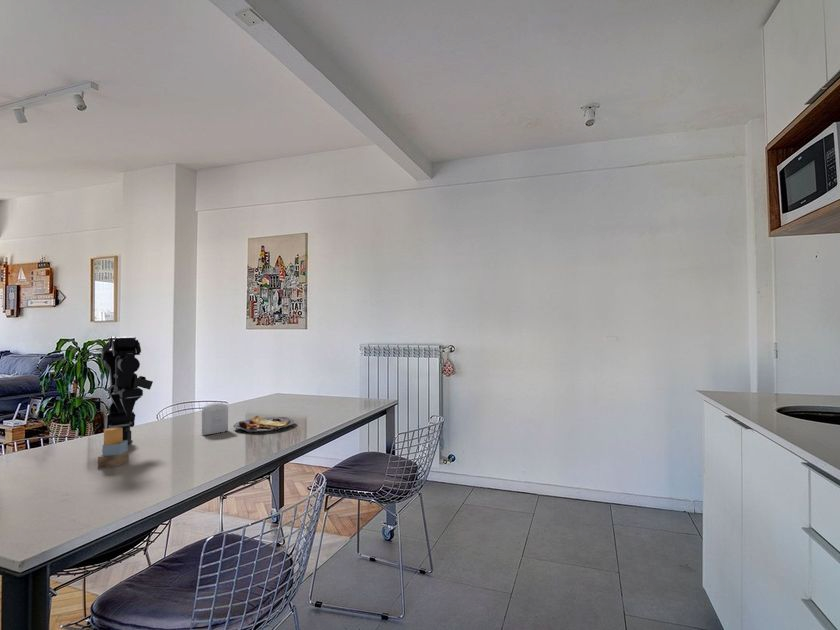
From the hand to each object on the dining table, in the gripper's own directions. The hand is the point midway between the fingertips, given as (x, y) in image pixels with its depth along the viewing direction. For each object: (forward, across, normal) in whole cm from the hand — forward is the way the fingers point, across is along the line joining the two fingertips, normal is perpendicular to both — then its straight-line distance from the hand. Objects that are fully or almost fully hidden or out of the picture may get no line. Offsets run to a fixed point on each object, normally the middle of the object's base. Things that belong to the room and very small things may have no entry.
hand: (125, 414), depth 157 cm
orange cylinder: (+6, -14, +7) cm, 17 cm away
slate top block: (+10, -14, +6) cm, 18 cm away
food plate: (+14, -6, -51) cm, 53 cm away
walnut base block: (+13, -14, +7) cm, 20 cm away
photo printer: (+13, +1, -32) cm, 35 cm away
